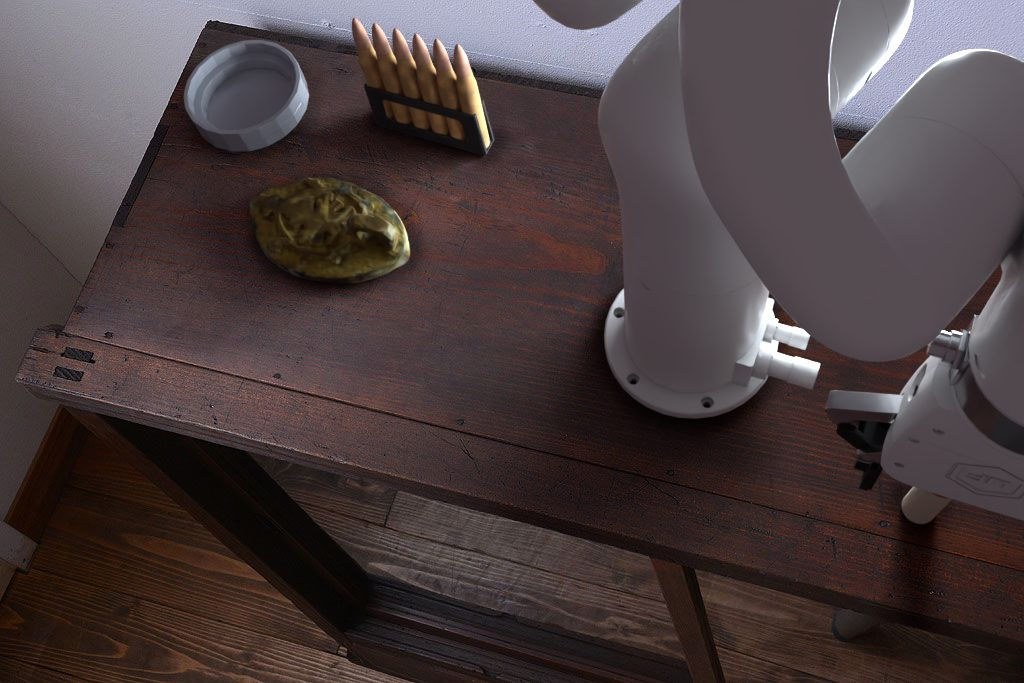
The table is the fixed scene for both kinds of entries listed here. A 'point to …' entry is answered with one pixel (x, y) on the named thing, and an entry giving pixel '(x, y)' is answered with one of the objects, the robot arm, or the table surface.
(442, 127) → the ammunition clip
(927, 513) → the red-capped cylinder
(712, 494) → the table surface
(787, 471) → the table surface
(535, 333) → the table surface
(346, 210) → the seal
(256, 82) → the dish
